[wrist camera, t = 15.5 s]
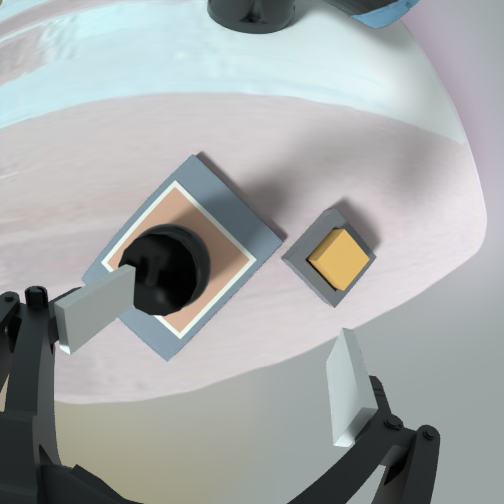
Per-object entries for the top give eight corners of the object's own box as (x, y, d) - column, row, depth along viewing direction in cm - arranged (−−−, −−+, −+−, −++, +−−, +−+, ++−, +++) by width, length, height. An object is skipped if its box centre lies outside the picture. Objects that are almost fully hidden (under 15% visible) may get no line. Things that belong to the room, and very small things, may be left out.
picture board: (193, 156, 34) (192, 153, 32) (280, 242, 36) (283, 242, 35) (84, 277, 32) (80, 279, 31) (168, 358, 34) (167, 362, 33)
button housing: (324, 210, 37) (335, 208, 33) (363, 255, 38) (376, 257, 34) (280, 258, 36) (288, 260, 32) (324, 302, 37) (334, 307, 34)
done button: (330, 229, 35) (344, 228, 31) (354, 257, 36) (369, 259, 32) (304, 258, 35) (316, 261, 31) (330, 285, 35) (343, 290, 31)
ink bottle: (148, 305, 32) (121, 338, 20) (130, 237, 32) (91, 237, 20) (222, 286, 34) (229, 312, 22) (204, 217, 33) (201, 205, 21)
